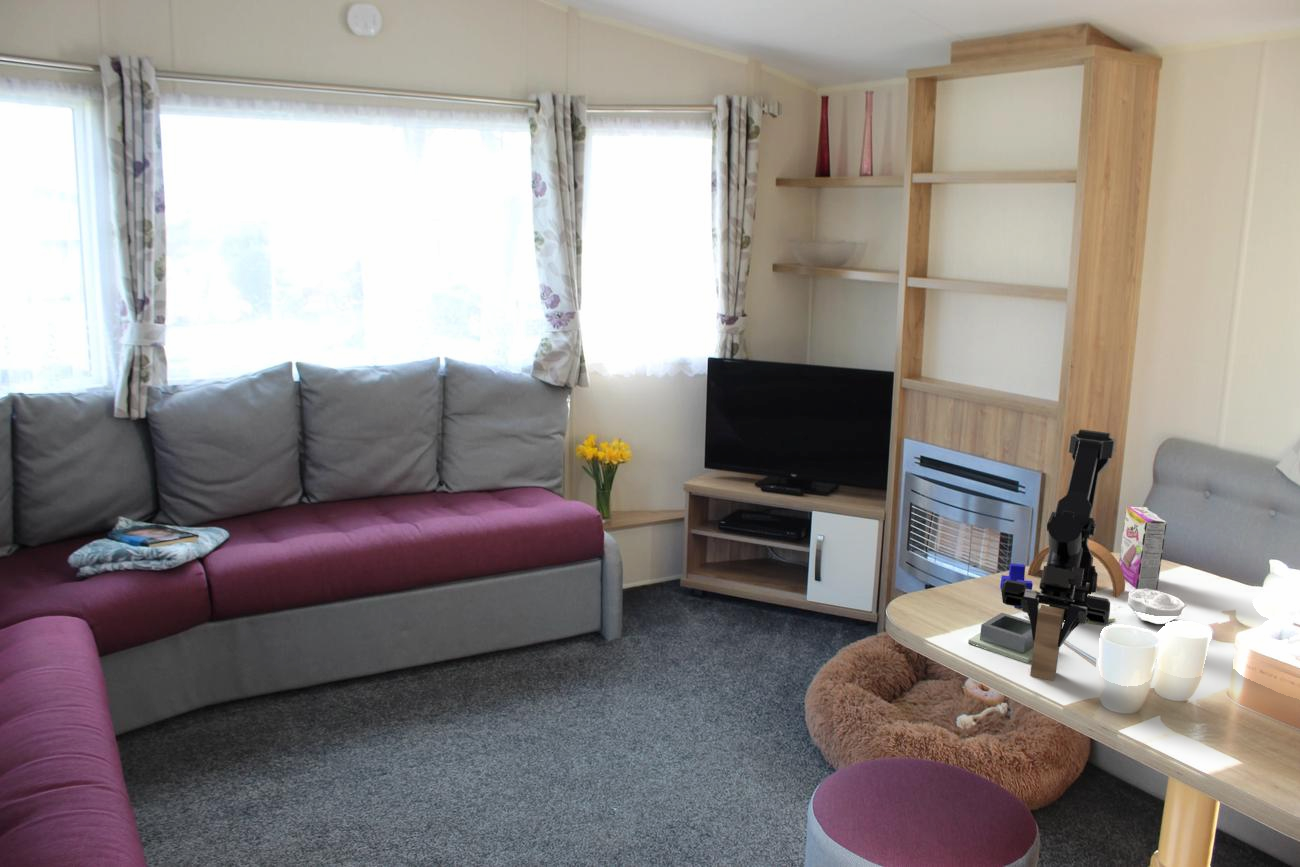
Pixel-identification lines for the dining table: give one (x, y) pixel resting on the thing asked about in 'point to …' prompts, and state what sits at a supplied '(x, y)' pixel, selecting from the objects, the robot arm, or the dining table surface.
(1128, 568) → the candy bar box
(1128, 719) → the dining table surface
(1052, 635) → the walnut post
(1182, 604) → the cell model
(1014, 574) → the cable clip
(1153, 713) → the dining table surface
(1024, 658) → the base plate
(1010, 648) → the steel collar
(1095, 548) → the arch
